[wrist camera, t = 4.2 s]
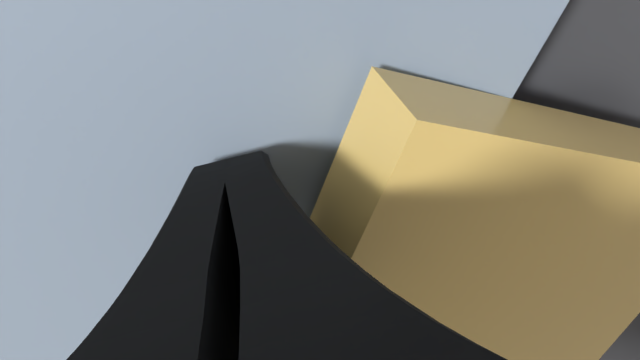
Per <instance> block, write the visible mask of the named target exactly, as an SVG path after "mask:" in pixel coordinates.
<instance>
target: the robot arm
mask: <svg viewBox="0 0 640 360" xmlns="http://www.w3.org/2000/svg"><path fill="white" fill-rule="evenodd" d="M66 360H507V359H505V358H503V357H501V356H500V355H498V354H496V353H494V352H492V351H490V350H488V349H486V348H484V347H482V346H480V345H478V344H476V343H475V342H473V341H471V340H469V339H468V338H466V337H464V336H463V335H461V334H459V333H457V332H456V331H454V330H452V329H450V328H449V327H447V326H445V325H443V324H442V323H440V322H438V321H437V320H435V319H434V318H432V317H431V316H429V315H428V314H426V313H425V312H423V311H422V310H420V309H418V308H417V307H415V306H414V305H412V304H411V303H409V302H408V301H406V300H405V299H403V298H402V297H400V296H399V295H397V294H396V293H394V292H393V291H391V290H390V289H388V288H387V287H386V286H385V285H383V284H382V283H381V282H379V281H378V280H377V279H375V278H374V277H373V276H372V275H370V274H369V273H368V272H366V271H365V270H364V269H363V268H361V267H360V266H359V265H358V264H357V263H356V262H354V261H353V260H352V259H351V258H350V257H348V256H347V255H346V254H345V253H344V252H343V251H342V250H341V249H340V248H339V247H337V246H336V245H335V244H334V243H333V242H332V241H331V240H330V239H329V238H328V237H327V236H326V235H325V234H324V233H323V232H322V231H321V230H320V229H319V228H318V227H317V226H316V225H315V223H314V222H313V221H312V220H311V219H310V218H309V217H308V216H307V215H306V213H305V212H304V211H303V210H302V208H301V207H300V206H299V205H298V204H297V202H296V201H295V200H294V199H293V197H292V196H291V195H290V194H289V192H288V191H287V189H286V188H285V187H284V185H283V184H282V182H281V181H280V179H279V178H278V176H277V174H276V173H275V171H274V169H273V167H272V165H271V162H270V159H269V155H268V154H266V153H264V152H263V151H257V152H253V153H249V154H244V155H240V156H236V157H232V158H228V159H224V160H220V161H216V162H212V163H208V164H204V165H200V166H196V167H194V168H193V169H192V171H191V173H190V174H189V176H188V178H187V180H186V182H185V184H184V186H183V188H182V190H181V192H180V194H179V196H178V198H177V200H176V202H175V203H174V205H173V207H172V209H171V211H170V213H169V215H168V217H167V218H166V220H165V222H164V224H163V226H162V227H161V229H160V231H159V233H158V234H157V236H156V238H155V240H154V241H153V243H152V245H151V247H150V248H149V250H148V252H147V253H146V255H145V256H144V258H143V259H142V261H141V262H140V264H139V266H138V267H137V269H136V270H135V272H134V273H133V275H132V276H131V278H130V279H129V281H128V282H127V284H126V286H125V287H124V289H123V290H122V291H121V293H120V294H119V296H118V297H117V298H116V300H115V301H114V303H113V304H112V305H111V307H110V308H109V309H108V311H107V312H106V313H105V314H104V316H103V317H102V318H101V319H100V321H99V322H98V323H97V324H96V326H95V327H94V328H93V329H92V331H91V332H90V333H89V334H88V336H87V337H86V338H85V339H84V340H83V341H82V343H81V344H80V345H79V346H78V347H77V348H76V350H75V351H74V352H73V353H72V354H71V355H70V356H69V357H68V358H67V359H66Z"/></svg>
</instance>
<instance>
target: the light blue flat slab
mask: <svg viewBox="0 0 640 360" xmlns="http://www.w3.org/2000/svg"><path fill="white" fill-rule="evenodd" d="M568 2H569V0H0V360H66V359H67V358H68V357H69V356H70V355H71V354H72V353H73V352H74V351H75V350H76V348H77V347H78V346H79V345H80V344H81V343H82V341H83V340H84V339H85V338H86V337H87V336H88V334H89V333H90V332H91V331H92V329H93V328H94V327H95V326H96V324H97V323H98V322H99V321H100V319H101V318H102V317H103V316H104V314H105V313H106V312H107V311H108V309H109V308H110V307H111V305H112V304H113V303H114V301H115V300H116V298H117V297H118V296H119V294H120V293H121V291H122V290H123V289H124V287H125V286H126V284H127V282H128V281H129V279H130V278H131V276H132V275H133V273H134V272H135V270H136V269H137V267H138V266H139V264H140V262H141V261H142V259H143V258H144V256H145V255H146V253H147V252H148V250H149V248H150V247H151V245H152V243H153V241H154V240H155V238H156V236H157V234H158V233H159V231H160V229H161V227H162V226H163V224H164V222H165V220H166V218H167V217H168V215H169V213H170V211H171V209H172V207H173V205H174V203H175V202H176V200H177V198H178V196H179V194H180V192H181V190H182V188H183V186H184V184H185V182H186V180H187V178H188V176H189V174H190V173H191V171H192V169H193V168H194V167H196V166H200V165H204V164H208V163H212V162H216V161H220V160H224V159H228V158H232V157H236V156H240V155H244V154H249V153H253V152H257V151H263V152H264V153H266V154H268V155H269V159H270V162H271V165H272V167H273V169H274V171H275V173H276V174H277V176H278V178H279V179H280V181H281V182H282V184H283V185H284V187H285V188H286V189H287V191H288V192H289V194H290V195H291V196H292V197H293V199H294V200H295V201H296V202H297V204H298V205H299V206H300V207H301V208H302V210H303V211H304V212H305V213H306V215H307V216H308V217H309V218H310V216H311V214H312V211H313V209H314V206H315V204H316V202H317V199H318V197H319V194H320V192H321V189H322V187H323V184H324V182H325V180H326V177H327V175H328V172H329V170H330V167H331V165H332V162H333V160H334V158H335V155H336V153H337V150H338V148H339V145H340V143H341V140H342V138H343V135H344V133H345V131H346V128H347V126H348V123H349V121H350V118H351V116H352V113H353V111H354V109H355V106H356V104H357V101H358V99H359V96H360V94H361V91H362V89H363V87H364V84H365V82H366V79H367V77H368V74H369V72H370V69H371V67H372V66H373V67H377V68H382V69H386V70H390V71H395V72H399V73H403V74H408V75H412V76H416V77H421V78H425V79H429V80H433V81H438V82H442V83H446V84H451V85H455V86H459V87H464V88H468V89H472V90H477V91H481V92H485V93H490V94H494V95H498V96H503V97H507V98H511V99H512V98H513V96H514V94H515V92H516V91H517V89H518V87H519V86H520V84H521V82H522V80H523V79H524V77H525V75H526V74H527V72H528V70H529V69H530V67H531V65H532V63H533V62H534V60H535V58H536V57H537V55H538V53H539V52H540V50H541V48H542V46H543V45H544V43H545V41H546V40H547V38H548V36H549V35H550V33H551V31H552V29H553V28H554V26H555V24H556V23H557V21H558V19H559V18H560V16H561V14H562V12H563V11H564V9H565V7H566V6H567V4H568Z"/></svg>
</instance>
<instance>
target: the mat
mask: <svg viewBox="0 0 640 360" xmlns="http://www.w3.org/2000/svg"><path fill="white" fill-rule="evenodd" d="M512 99H516V100H520V101H524V102H529V103H533V104H537V105H542V106H546V107H550V108H554V109H559V110H563V111H567V112H572V113H576V114H580V115H585V116H589V117H593V118H598V119H602V120H606V121H611V122H615V123H619V124H624V125H628V126H632V127H637V128H640V0H569V2H568V4H567V6H566V7H565V9H564V11H563V12H562V14H561V16H560V18H559V19H558V21H557V23H556V24H555V26H554V28H553V29H552V31H551V33H550V35H549V36H548V38H547V40H546V41H545V43H544V45H543V46H542V48H541V50H540V52H539V53H538V55H537V57H536V58H535V60H534V62H533V63H532V65H531V67H530V69H529V70H528V72H527V74H526V75H525V77H524V79H523V80H522V82H521V84H520V86H519V87H518V89H517V91H516V92H515V94H514V96H513V98H512ZM599 360H640V313H639V314H638V315H637V316H636V317H635V319H634V320H633V321H632V322H631V323H630V324H629V326H628V327H627V328H626V329H625V330H624V331H623V332H622V334H621V335H620V336H619V337H618V338H617V339H616V340H615V342H614V343H613V344H612V345H611V346H610V347H609V349H608V350H607V351H606V352H605V353H604V354H603V355H602V357H601V358H600V359H599Z"/></svg>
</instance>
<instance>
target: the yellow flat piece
mask: <svg viewBox="0 0 640 360" xmlns="http://www.w3.org/2000/svg"><path fill="white" fill-rule="evenodd" d="M310 219H311V220H312V221H313V222H314V223H315V225H316V226H317V227H318V228H319V229H320V230H321V231H322V232H323V233H324V234H325V235H326V236H327V237H328V238H329V239H330V240H331V241H332V242H333V243H334V244H335V245H336V246H337V247H339V248H340V249H341V250H342V251H343V252H344V253H345V254H346V255H347V256H348V257H350V258H351V259H352V260H353V261H354V262H356V263H357V264H358V265H359V266H360V267H361V268H363V269H364V270H365V271H366V272H368V273H369V274H370V275H372V276H373V277H374V278H375V279H377V280H378V281H379V282H381V283H382V284H383V285H385V286H386V287H387V288H388V289H390V290H391V291H393V292H394V293H396V294H397V295H399V296H400V297H402V298H403V299H405V300H406V301H408V302H409V303H411V304H412V305H414V306H415V307H417V308H418V309H420V310H422V311H423V312H425V313H426V314H428V315H429V316H431V317H432V318H434V319H435V320H437V321H438V322H440V323H442V324H443V325H445V326H447V327H449V328H450V329H452V330H454V331H456V332H457V333H459V334H461V335H463V336H464V337H466V338H468V339H469V340H471V341H473V342H475V343H476V344H478V345H480V346H482V347H484V348H486V349H488V350H490V351H492V352H494V353H496V354H498V355H500V356H501V357H503V358H505V359H507V360H599V359H600V358H601V357H602V355H603V354H604V353H605V352H606V351H607V350H608V349H609V347H610V346H611V345H612V344H613V343H614V342H615V340H616V339H617V338H618V337H619V336H620V335H621V334H622V332H623V331H624V330H625V329H626V328H627V327H628V326H629V324H630V323H631V322H632V321H633V320H634V319H635V317H636V316H637V315H638V314H639V313H640V128H637V127H632V126H628V125H624V124H619V123H615V122H611V121H606V120H602V119H598V118H593V117H589V116H585V115H580V114H576V113H572V112H567V111H563V110H559V109H554V108H550V107H546V106H542V105H537V104H533V103H529V102H524V101H520V100H516V99H511V98H507V97H503V96H498V95H494V94H490V93H485V92H481V91H477V90H472V89H468V88H464V87H459V86H455V85H451V84H446V83H442V82H438V81H433V80H429V79H425V78H421V77H416V76H412V75H408V74H403V73H399V72H395V71H390V70H386V69H382V68H377V67H373V66H372V67H371V69H370V72H369V74H368V77H367V79H366V82H365V84H364V87H363V89H362V91H361V94H360V96H359V99H358V101H357V104H356V106H355V109H354V111H353V113H352V116H351V118H350V121H349V123H348V126H347V128H346V131H345V133H344V135H343V138H342V140H341V143H340V145H339V148H338V150H337V153H336V155H335V158H334V160H333V162H332V165H331V167H330V170H329V172H328V175H327V177H326V180H325V182H324V184H323V187H322V189H321V192H320V194H319V197H318V199H317V202H316V204H315V206H314V209H313V211H312V214H311V216H310Z"/></svg>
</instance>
